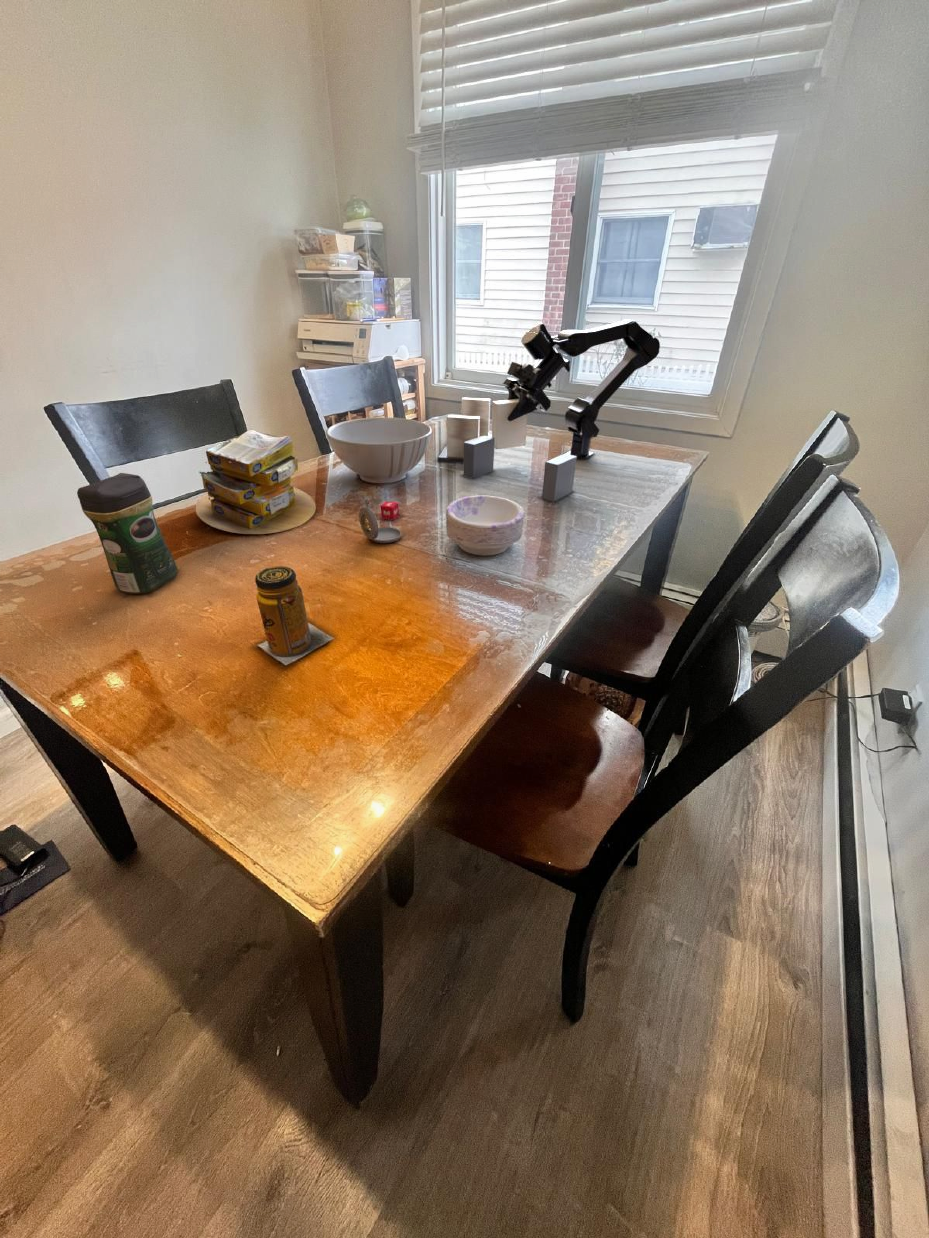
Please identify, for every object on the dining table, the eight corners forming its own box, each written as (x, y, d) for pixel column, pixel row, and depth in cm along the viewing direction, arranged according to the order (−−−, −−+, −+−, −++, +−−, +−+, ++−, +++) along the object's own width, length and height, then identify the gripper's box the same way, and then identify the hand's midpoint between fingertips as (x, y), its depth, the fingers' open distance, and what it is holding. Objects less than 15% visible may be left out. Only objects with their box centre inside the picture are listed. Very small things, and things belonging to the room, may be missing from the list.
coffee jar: (153, 566, 95) (116, 466, 85) (187, 573, 93) (153, 472, 83) (107, 591, 88) (61, 485, 77) (143, 600, 86) (100, 492, 75)
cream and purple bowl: (509, 569, 97) (512, 529, 92) (434, 555, 101) (433, 517, 96) (529, 536, 108) (532, 500, 104) (461, 525, 113) (462, 490, 108)
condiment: (257, 646, 76) (238, 574, 69) (305, 621, 81) (292, 553, 74) (286, 667, 72) (268, 593, 65) (334, 639, 77) (323, 569, 71)
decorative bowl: (429, 494, 128) (427, 445, 121) (321, 492, 128) (314, 443, 121) (435, 461, 150) (434, 418, 143) (343, 459, 150) (338, 416, 143)
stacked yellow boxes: (338, 509, 119) (328, 435, 110) (246, 547, 102) (225, 463, 93) (269, 487, 131) (255, 418, 121) (176, 518, 114) (152, 441, 104)
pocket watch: (406, 534, 109) (404, 488, 103) (389, 550, 102) (385, 502, 96) (372, 528, 111) (367, 482, 105) (352, 544, 104) (346, 496, 99)
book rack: (496, 437, 173) (498, 398, 166) (485, 464, 149) (487, 420, 142) (455, 434, 175) (455, 396, 168) (437, 461, 150) (437, 417, 143)
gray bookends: (483, 468, 146) (484, 435, 141) (572, 491, 131) (577, 456, 126) (463, 476, 140) (463, 442, 135) (553, 501, 125) (558, 464, 120)
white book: (520, 442, 149) (522, 398, 143) (525, 445, 147) (527, 401, 140) (491, 446, 147) (492, 401, 140) (496, 449, 144) (497, 404, 137)
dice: (393, 520, 115) (392, 507, 113) (381, 518, 115) (380, 505, 114) (399, 515, 117) (398, 502, 115) (387, 513, 118) (386, 500, 116)
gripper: (511, 345, 142) (473, 391, 144) (545, 354, 127) (502, 405, 130) (534, 375, 149) (497, 418, 151) (568, 387, 134) (527, 434, 137)
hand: (505, 418), depth 142 cm, fingers closed on white book, 4 cm apart
